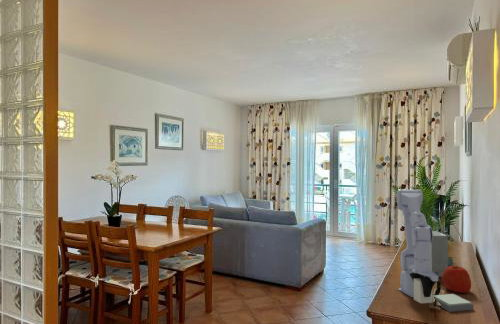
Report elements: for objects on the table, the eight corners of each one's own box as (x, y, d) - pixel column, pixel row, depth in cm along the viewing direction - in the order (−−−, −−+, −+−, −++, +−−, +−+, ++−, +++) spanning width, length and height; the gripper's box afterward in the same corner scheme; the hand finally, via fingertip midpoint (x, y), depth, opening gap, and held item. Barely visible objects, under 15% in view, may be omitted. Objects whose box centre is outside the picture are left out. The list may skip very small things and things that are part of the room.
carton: (413, 299, 133) (413, 278, 133) (425, 298, 134) (425, 277, 134) (420, 303, 129) (420, 281, 129) (432, 302, 130) (432, 281, 130)
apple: (436, 288, 152) (436, 264, 153) (453, 284, 157) (453, 261, 157) (460, 296, 143) (459, 270, 143) (477, 292, 147) (476, 267, 147)
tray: (431, 301, 138) (431, 295, 138) (453, 299, 139) (453, 293, 139) (449, 311, 128) (449, 304, 128) (473, 309, 129) (473, 302, 129)
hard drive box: (449, 278, 166) (448, 236, 167) (431, 277, 168) (430, 235, 168) (438, 268, 181) (437, 230, 182) (422, 268, 183) (421, 230, 183)
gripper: (401, 254, 138) (402, 288, 138) (425, 264, 124) (426, 302, 124) (417, 253, 140) (418, 287, 139) (443, 263, 125) (444, 301, 125)
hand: (423, 294), depth 132 cm, fingers closed on carton, 4 cm apart
